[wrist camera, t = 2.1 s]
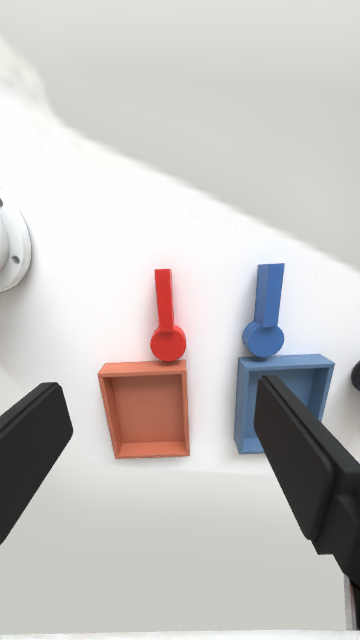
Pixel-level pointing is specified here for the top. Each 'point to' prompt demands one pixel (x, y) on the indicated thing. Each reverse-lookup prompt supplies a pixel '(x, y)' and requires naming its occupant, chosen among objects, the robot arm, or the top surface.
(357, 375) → the camera lens
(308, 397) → the blue tray
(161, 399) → the red tray
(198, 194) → the top surface
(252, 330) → the blue spoon
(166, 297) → the red spoon
